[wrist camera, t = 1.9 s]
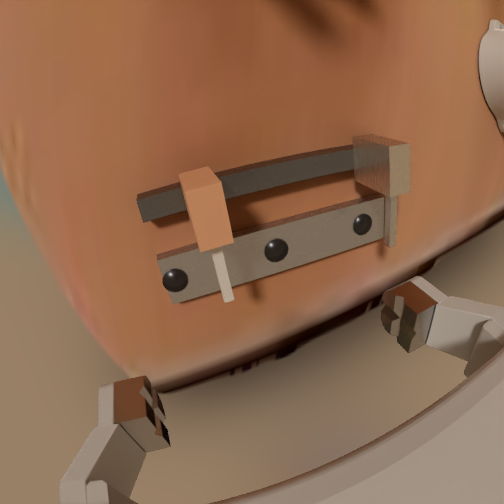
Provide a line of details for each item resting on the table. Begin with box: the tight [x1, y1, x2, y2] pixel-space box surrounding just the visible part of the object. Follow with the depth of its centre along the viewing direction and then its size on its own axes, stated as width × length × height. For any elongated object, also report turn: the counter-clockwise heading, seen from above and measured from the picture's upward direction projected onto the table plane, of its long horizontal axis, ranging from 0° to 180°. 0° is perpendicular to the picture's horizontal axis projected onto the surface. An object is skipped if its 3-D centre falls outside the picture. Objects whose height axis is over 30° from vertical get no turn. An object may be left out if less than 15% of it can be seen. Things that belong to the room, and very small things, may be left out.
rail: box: [137, 134, 410, 248], centre depth 26 cm, size 24×10×7 cm, turn 100°
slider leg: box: [178, 166, 234, 303], centre depth 24 cm, size 2×10×5 cm, turn 10°
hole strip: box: [157, 194, 384, 304], centre depth 31 cm, size 24×5×1 cm, turn 100°
